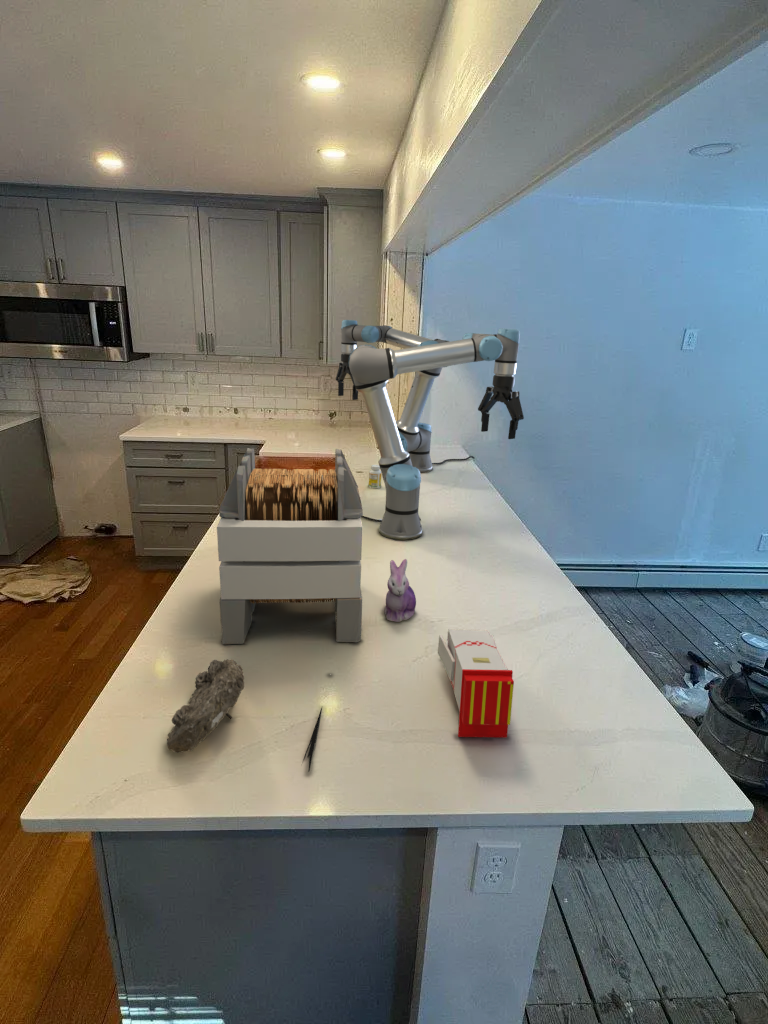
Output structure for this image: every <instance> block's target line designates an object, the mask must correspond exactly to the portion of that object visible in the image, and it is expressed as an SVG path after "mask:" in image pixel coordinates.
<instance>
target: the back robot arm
mask: <svg viewBox="0 0 768 1024" xmlns="http://www.w3.org/2000/svg"><path fill="white" fill-rule="evenodd" d="M340 330H341V331H340V333H341V334H340V335H341V337H340V338H341V342H340V353H341V354H340V362H339V363H338V368H337V372H336V376H335V381H337V383H338V384H337V389H338V390H337V396H338V397H344V395H345V394H344V391H345V390H344V389H345V386H344V385H345V383H344V382H345V381H344V380H345V379H346V376H347V374H348V375H349V377H350V379H351V382H352V393H351V395H352V399H351V400H352V401H358V400H359V391H357V390H356V387H355V383H354V380H353V377H352V374H351V372H350V368H349V364H348V361H349V356H350V354H351V352H352V351H353V350H354V349H355V348H357V347H358V346H357V345H358V342H359V343H366V344H367V343H368V344H374V343H383V344H387V345H391V346H394V347H397V348H400V349H406V348H413V347H419V346H425V345H432V344H438V343H445V342H451V341H449V340H445V339H440V338H434V339H432V338H427V337H425V336H421V335H417V334H414V333H410V332H407V331H403V330H399V329H396V328H393V327H392V326H391V325H366V324H365V325H363V324H358V321H357V319H356V320H355V319H343V320H342V321H341V327H340ZM443 368H444V367H440V368H434V369H428V370H421V371H415V375H414V378H413V381H412V384H411V387H410V389H409V392H408V395H407V398H406V401H405V403H404V407H403V410H402V412H401V416H400V419H398V420H395V421H396V425H397V428H398V432H399V435H400V439H401V442H402V446H403V449H404V451H406V452H408V453H409V455H410V459H411V462H412V466H413V467H416V468H417V469H418V470H419V471H420V474H421V473H422V474H423V473H429V472H431V471H433V466H434V465H443V464H444V463H446V462H452V461H457V462H459V461H460V462H461V461H463V462H464V461H467V460H469V459H471V458H472V459H476V458H475V456H473V455H469V456H468V457H466V458H465V457H464V458H447V459H444V460H443V461H441V462H433V461H432V458H431V442H432V441H431V440H432V433H433V432H432V425H431V424H429V423H425V422H420V420H421V417H422V414H423V412H424V409H425V406H426V404H427V400H428V398H429V395H430V392H431V389H432V387H433V384H434V381H435V379H436V378H438V377H440V375H441V372H442V370H443ZM445 368H449V366H446V367H445Z"/></svg>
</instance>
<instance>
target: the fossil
mask: <svg viewBox="0 0 768 1024" xmlns="http://www.w3.org/2000/svg"><path fill="white" fill-rule="evenodd" d="M243 670H244V669H243V667H242V665H240V664H237V662H236V661H235V660H234V659H232V658H231V659H227V658H226V659H224V660H223V661H222V660H217V659H212V660H211V661H210V663H209V665H208V666H207V671H201V672H199V673H198V674H197V675H196V676H195V680H194V684H195V685H194V687H195V689H194V690H193V693H192V694H191V697H190V698H189V700H188V704H184V705H182V706H181V707H180V709H177V710H176V711H175V713H174V715H173V716H172V718H171V723H172V724H173V727H172V730H171V731H170V732H168V734H167V738H166V741H167V742H166V745H167V749H168V750H169V751H173V752H174V753H176V754H178V753H182V752H188V751H189V752H192V751H193V750H195V748H196V747H197V746H199V744H200V743H201V742H203V741H204V740H205V739H206V738H207V737H208V736H209V735H210V734H211V733H212V732H214V730H215V729H217V727H218V726H219V724H220V722H221V721H222V720H223V719H224V718H225V716H226V717H227V719H229V720H233V717H232V715H230V714H229V710H230V709H231V708H234V706H235V704H236V703H237V702H238V699H239V697H240V695H241V693H242V691H243V690H245V689H244V688H245V675H244V671H243Z"/></svg>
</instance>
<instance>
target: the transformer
mask: <svg viewBox="0 0 768 1024" xmlns="http://www.w3.org/2000/svg"><path fill="white" fill-rule="evenodd" d="M334 454H335V459H334V460H335V461H334V462H335V463H334V464H335V465H334V469H331V468H330V469H328V470H327V469H324V468H319V469H316V470H315V469H313V468H293V469H291V468H290V469H287V468H256V457H255V448H249V447H247V448H246V450H245V452H244V455H243V456H242V459H241V460H240V463H239V465H238V466H237V468H236V470H235V472H234V475H233V477H232V479H231V481H230V483H229V485H228V488H227V491H226V492H225V495H224V497H223V499H222V501H221V503H220V506H219V508H218V514H219V517H220V518H219V521H218V523H217V525H216V537H217V539H216V540H217V552H218V553H217V554H218V556H217V557H218V562H220V564H219V567H218V569H219V585H220V586H219V587H220V599H219V615H220V625H221V626H220V627H221V637H222V640H221V643H222V645H228V646H229V645H231V644H233V645H234V644H235V645H237V644H238V645H240V644H241V645H242V644H243V645H244V644H245V641H246V638H247V636H248V632H249V630H250V627H251V625H252V622H253V621H252V620H253V618H252V617H253V616H252V614H254V612H255V608H256V604H272V603H273V604H275V603H276V604H278V603H279V604H280V603H283V604H284V603H290V604H294V603H296V604H297V603H299V604H301V603H325V602H326V603H331V602H332V603H334V612H335V616H334V617H335V618H334V619H335V639H336V642H337V643H359V642H360V641H361V640H362V623H363V621H362V620H363V619H362V617H363V595H362V588H361V586H362V585H361V583H362V582H361V581H362V554H363V553H362V550H363V523H362V516H364V515H363V513H364V509H363V505H362V500H361V496H360V495H361V494H360V492H359V485H358V483H357V481H356V479H355V477H354V475H353V472H352V470H351V469H350V466H349V464H348V462H347V458H346V457H345V454H344V453H343V450H342V449H340V448H335V453H334Z"/></svg>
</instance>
